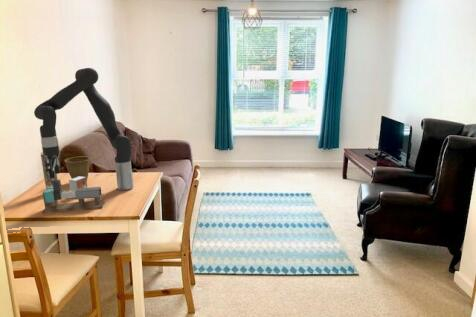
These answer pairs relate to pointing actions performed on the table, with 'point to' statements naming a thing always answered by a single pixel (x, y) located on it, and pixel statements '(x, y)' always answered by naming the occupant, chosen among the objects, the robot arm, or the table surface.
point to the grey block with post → (58, 191)
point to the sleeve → (88, 193)
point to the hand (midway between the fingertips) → (55, 175)
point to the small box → (77, 183)
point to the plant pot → (78, 166)
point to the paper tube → (47, 173)
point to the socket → (48, 196)
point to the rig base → (73, 205)
